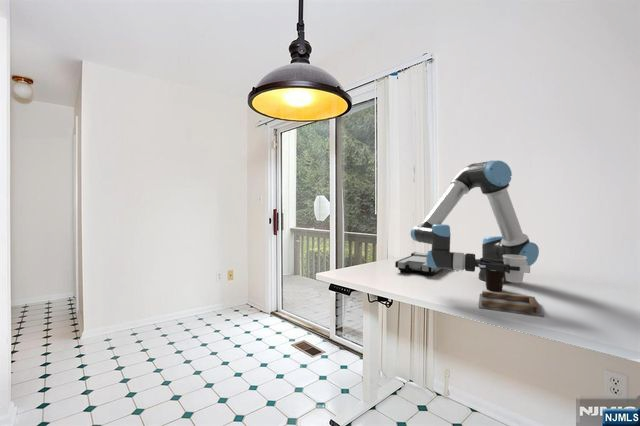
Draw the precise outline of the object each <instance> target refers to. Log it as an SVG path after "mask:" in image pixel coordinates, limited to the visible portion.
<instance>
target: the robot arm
mask: <svg viewBox="0 0 640 426" xmlns="http://www.w3.org/2000/svg"><path fill="white" fill-rule="evenodd" d="M512 176H513V173H512V170H511V167H510V165H508V164H507V163H506V162H505V161H502V160H489V161H481V162H478V163H477V162H476V163H471V164H468V165H467V166H465V167H463V169H461V170H460V171H459V172H458V173H457V174H456V176H454V178H453V179H452V180H451V181H450V185H449V187H448V189H447V190H446V191H445V193H444V194H443V195H442V196H441V197H440V199H439V200H438V202H437V203H436V204H435V205H434V207H433V208H432V209H431V210H430V212H429V213H428V215H426V217H425V218H424V219H423V221H422V222H421V223H420V224H419V225H416V226H414V227H413V228H411V230H410V237H411V239H412V240H413V241H415V242H418V243H423V244H428V245H431V250H428V251H427V252H426V253H427V257H426V263H427V266H428V267H432V268H437V269H443V270H452V271H453V270H454V271H456V272H459V271H463V272H464V271H465V272H470V273H471V272H472V273H473V272H475V271H476V268H479V271H478V279H479V280H481V281H484V282H486V280H485V271H484V269H485V270H494V271H502V272H507V273H510V271H512V272H523V273H524V274H525V273H526V274H531V266H533V265H534V264H535V263H536V261H537V260H538V258H539V253H540V252H539V251H540V248H539V246H538V245H537V243H534V242H532V241H530V238H529V236H528V235H527V234H526V233H524V232H523V230H522V228H521V224H520V222H519V219H518V217H517V213H516V210H515V208H514V206H513V202H512V200H511V196H510V194H509V191H508V189H509V187H510V182H511V181H512ZM475 188H480V191H481V194H482V195H485V196H487V199H488V201H489V205H490V207H491V211H492V213H493V215H494V218H495V220H496V224H497V226H498V229H499V233H500V234H501V236H485V237H483V239H482V244H481V245H482V248H481V249H482V250H481V251H482V253H481V254H482V257H480V258H479V259H478V258H476V253H467V252H466V253H464V252H453V251H451V227H450V225H449V224H443V223H444V221H445V220H446V218H447V217H448V216H449V215H450V214H451V212H452V211H453V210H454V208H455V207H456V206H457V204H458V203H459V201H460V200H461V199H462V198H463V196H464V195H467V194H469V192H470V191H471V190H472V189H475ZM503 255H521V256H526V257H527V259H526V264H525V265H515V264H510V265H509V264H504V260H503ZM506 283H507V284H508V283H509V284H510V282H508V281H506V277H505V274H504V281H503V284H506Z"/></svg>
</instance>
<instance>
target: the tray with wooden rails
mask: <svg viewBox="0 0 640 426" xmlns="http://www.w3.org/2000/svg"><path fill="white" fill-rule="evenodd" d="M481 292H482V293H479V298H478V308H479V309H484V310H492V311H496V312H497V311H499V312H505V313H510V314H511V313H513V314H518V315H519V314H521V315H527V316H533V317H541V318H545V315H544V313H543V311H542V309H541V307H540V304H539V302H538V301H537V299H536V297H535V296H530V295H524V294H523V295H519V294H514V293H505V292H504V293H503V292H493V291H488V290H482V291H481Z"/></svg>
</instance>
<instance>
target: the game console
mask: <svg viewBox="0 0 640 426" xmlns="http://www.w3.org/2000/svg"><path fill="white" fill-rule="evenodd" d="M426 257H427V252H425V253H424V252H416V251H414V252H411V253H410V255H409V256H406V257H404V258H401V259H398V260H396V261H395V264H394V265H395V266H394V267H395V268H397V269H398V271H399V272H400V273H408V274H410V273H413V272H414V271H418V272H419V271H420V272H419V273H420V274H421V275H422V276H430V277H433V276H435V275H436V274H438V273H440V272H441V271H443V270H444V269H437V268H432V267H428V266H427V263H426Z"/></svg>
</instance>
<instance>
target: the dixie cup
mask: <svg viewBox="0 0 640 426" xmlns="http://www.w3.org/2000/svg"><path fill="white" fill-rule="evenodd" d="M526 259H527V257H526V256H521V255H503V260H504V264H509V265H510V264H515V265H525V264H526ZM524 276H525V273H523V272H512V271H510V273H507V272H505V277H506V281H508V282H509V283H516V284H522V283H523V281H524Z"/></svg>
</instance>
